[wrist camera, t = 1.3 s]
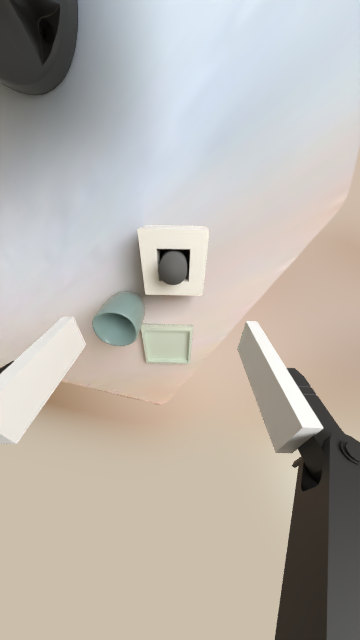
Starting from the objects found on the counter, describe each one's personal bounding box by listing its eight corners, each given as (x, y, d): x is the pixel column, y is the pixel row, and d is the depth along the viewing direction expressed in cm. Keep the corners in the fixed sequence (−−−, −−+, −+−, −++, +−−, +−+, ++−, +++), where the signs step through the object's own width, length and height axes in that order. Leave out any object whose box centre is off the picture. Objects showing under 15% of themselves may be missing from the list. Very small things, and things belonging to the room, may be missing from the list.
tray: (142, 323, 39) (140, 328, 38) (192, 324, 39) (192, 329, 38) (147, 357, 46) (146, 362, 45) (190, 358, 46) (190, 363, 45)
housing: (145, 224, 27) (137, 229, 22) (204, 225, 27) (209, 230, 22) (151, 281, 33) (145, 294, 28) (199, 282, 33) (202, 295, 28)
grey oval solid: (162, 246, 27) (157, 255, 22) (187, 247, 27) (187, 256, 22) (163, 271, 29) (158, 284, 24) (186, 272, 29) (186, 285, 24)
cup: (118, 317, 38) (101, 347, 30) (108, 287, 34) (84, 312, 26) (151, 315, 38) (141, 345, 30) (144, 284, 33) (131, 310, 25)
